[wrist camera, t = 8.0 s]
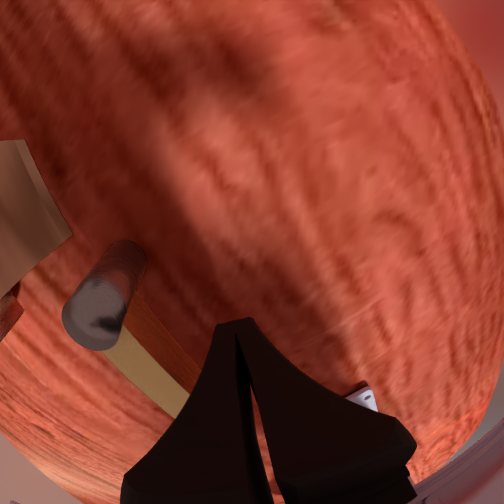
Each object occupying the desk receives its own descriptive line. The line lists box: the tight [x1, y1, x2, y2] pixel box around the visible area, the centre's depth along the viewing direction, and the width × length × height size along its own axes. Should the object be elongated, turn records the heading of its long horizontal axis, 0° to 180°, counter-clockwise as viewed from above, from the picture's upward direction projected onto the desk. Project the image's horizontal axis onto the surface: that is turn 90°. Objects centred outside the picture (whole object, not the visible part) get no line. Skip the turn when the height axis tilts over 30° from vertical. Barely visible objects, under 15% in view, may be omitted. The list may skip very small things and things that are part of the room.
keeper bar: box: [62, 240, 202, 419], centre depth 10 cm, size 10×2×5 cm, turn 26°
